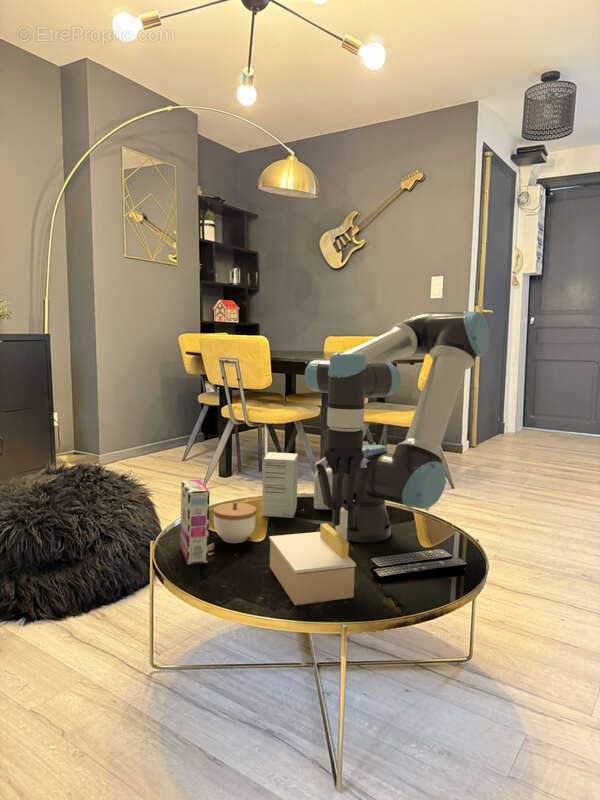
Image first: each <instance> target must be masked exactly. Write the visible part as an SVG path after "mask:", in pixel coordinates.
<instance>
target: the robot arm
mask: <svg viewBox="0 0 600 800" xmlns="http://www.w3.org/2000/svg"><path fill="white" fill-rule="evenodd" d="M489 328H490V327H489V325H488V321H487V319H486V317H485V316H484V314H483V313H481V312H479V311H469V310H464V311H441V312H440V311H436V312H434V311H432V312H431V311H430V312H425V313H421V314H417V315H414V316H412V317H409V318H407V319H404V320H402V321H400V322H398V323H395V324H394V325H391V327H389V329H388V331H387V332H385V333H383V334H381V335H379V336H377V337H374V338H372V339H370V340H368V341H366V342H364V343H362V344H360V345H357V346H356V347H353V348H351V349H348V350H347V351H345V352H334V353H332V354H331V355H330V357H329V359H325V360H324V359H322V358H321V359H315V360H312V361H310V362H308V364H307V365H306V368H305V371H304V381H305V384H306V386H307V388H308V389H310V390H311V391H314V392H319V393H322V394H323V393H326V394H327V396H328V397H327V398H328V399H327V410H326V411H327V416H326V417H327V418H326V425H327V426H328V428H327V429H326V436H325V437H326V439H325V440H326V441H325V442H326V444H325V447H326V449H325V452H324V454H323V458H321V459H320V460H318V461H314V462H313V464H312V466H313V467H314V469H315V472H316V471H317V472H318V477H319V482H320V487H321V492H322V497H323V502H324V505H325V506H327V507H328V508H329V509H328V510H331V511H332V512H331V523H332V528H333V529H334V530H335V531H336V532H337V533H338V534H339V535H341V536H342V537H343V538H344V539H345V540H346V541H347V542H355V543H367V544H368V543H378V542H382V541H385V540H388V539H389V538H390V537H391V530H392V527H391V522H390V519H389V515H388V511H387V508H386V501H387V502H389V503H395V504H399V505H402V506H405V507H407V508H415V509H420V510H425V509H427V510H428V509H429V508H431V507H432V506H434V505H435V504H436V503H437V502H438V501H439V500H440V498H441V497H442V494H443V492H444V490H445V488H446V483H447V479H446V478H447V470H446V467H445V466H444V465H443V458H442V456H441V454H440V450H441V447H442V442H443V440H444V438H445V435H446V434H445V433H446V431H447V428H448V424H449V421H450V419H451V416H452V413H453V410H454V406H455V404H456V401H457V400H456V399H457V398H458V394H459V391H460V389H461V385H462V382H463V378H464V375H465V373H466V370H469V369H471V368H472V367H473V366H474V364H475V361H476V358H477V357H478V358H481V357H483V356H485V355H486V354H487V353H488V351H489V348H490V343H491V342H490V340H491V338H490V329H489ZM413 355H429V356H430V358H431V359H432V363H431V365H430V368H429V371H428V374H427V376H426V380H425V382H424V385H423V388H422V391H421V394H420V397H419V399H418V403H417V405H416V408H415V412H414V413H413V416H412V420H411V422H410V425H409V429H408V431H407V434H406V438H405V440H403V441H402V442H401V441H400V442H399V443H398V444H396V447H395V449H394V452H393V453H388V452H389V450H388V447H387V446H386V445H383V444H366V445H365V444H364V431H363V429H362V428H364V426H365V425H364V424H365V400H366V399H367V398H368V399H369V398H385V397H390V396H392V395H395V393H396V392H398V390H399V388H400V385H401V382H402V378H401V373H400V371H399V370H398V367H396V365H394V364H392V362H394V361H396V360H398V359H399V358H402V359H403V358H404V359H405V358H409V357H411V356H413ZM363 444H364V445H363ZM327 468H331V469H332V476H333V479H332V496H331V491H330V485H329V480H328V475H327V472H326V469H327Z"/></svg>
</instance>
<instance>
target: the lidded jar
mask: <svg viewBox="0 0 600 800" xmlns="http://www.w3.org/2000/svg"><path fill="white" fill-rule="evenodd" d="M212 513H213V525H214V529H215V531H216V533H217V535H218V536H219V537H220V538H221V539H222V541H223V542H225V543H228V544H241V543H243V542H245V541H247V540H248V538H249V537H250V536H251V535H252V533H253V532H254V530H255V527H256V521H257V507H256V506H255V505H254V504H253V505H252V504H249V503H246V502H237V501H232V502H227V503H221V504H218V505H216V506H215V507H214V508H213V512H212Z"/></svg>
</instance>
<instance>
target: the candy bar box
mask: <svg viewBox="0 0 600 800" xmlns="http://www.w3.org/2000/svg"><path fill="white" fill-rule="evenodd" d="M180 484H181V486H180V550H181V553H182V555H183V557H184V560H185V562H186V564H187V565H189V566H190V565H191V566H192V565H200V564H208V563H209V538H210V537H209V536H210V534H209V530H210V528H209V527H210V490H209V489H208V488H207V486H206V484H205V483H203V481H202V480H200V479H193V480H192V479H190V480H181V482H180Z"/></svg>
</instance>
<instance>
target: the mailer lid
mask: <svg viewBox="0 0 600 800" xmlns="http://www.w3.org/2000/svg"><path fill="white" fill-rule="evenodd" d="M319 527H320V528H319V529H320V531H314V532H304V533H292V534H281V535H271V536H269V537H268V539H269V542H270V541H271V542H272V543H273V545H274V546H275V547H276V549H277V550H278V552H279V553H280V554H281V556H282V557H283V558H284V560H285V561H286V562H287V564H288V565H289V566H290V568H291V569H292V570H293V572H294V573H304V572H313V571H321V570H330V569H339V568H347V567H354V568H355V567H357V563H356V562H355V561H354V560H353V559H352V558H351V557H350V556H349V547H350V546H349V545H350V543H349V542H350V541H348V540H347V541H346V540H345V539H344V538H343V537H342V536H341V535H339V534H338V533H337V532H336V531H335V530H334V529H333V526H331V525H330V524H328V523H325V522H324V523H320V526H319Z"/></svg>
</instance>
